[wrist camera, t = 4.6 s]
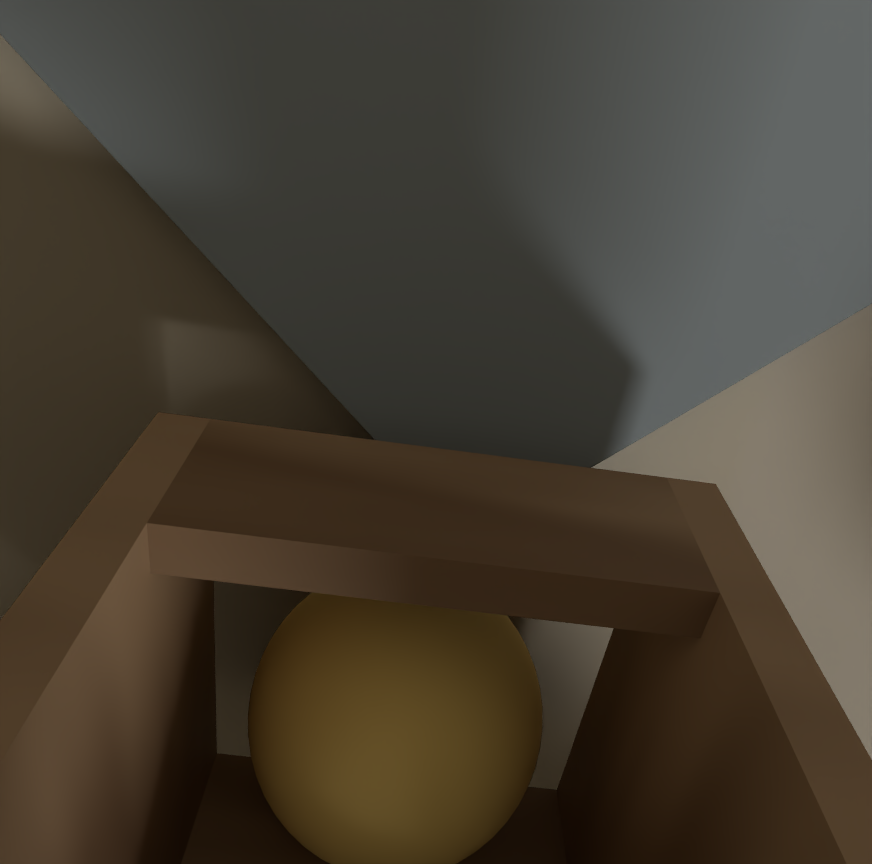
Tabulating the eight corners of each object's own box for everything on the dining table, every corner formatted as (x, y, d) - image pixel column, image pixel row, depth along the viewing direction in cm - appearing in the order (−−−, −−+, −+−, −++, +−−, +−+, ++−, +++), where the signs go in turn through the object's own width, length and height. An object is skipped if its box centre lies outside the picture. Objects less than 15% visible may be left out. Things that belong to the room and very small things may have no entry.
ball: (370, 902, 11) (366, 1019, 7) (221, 685, 12) (148, 687, 8) (563, 723, 12) (648, 744, 8) (413, 535, 13) (428, 475, 9)
